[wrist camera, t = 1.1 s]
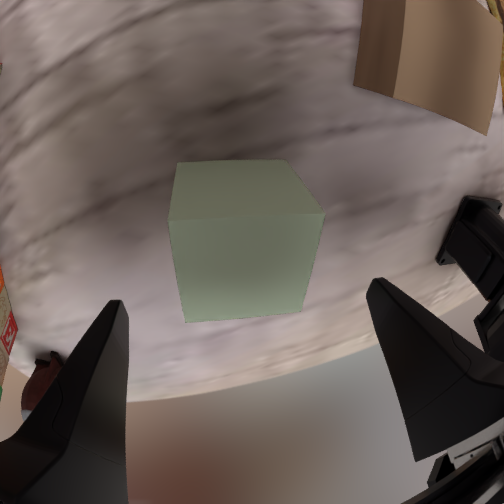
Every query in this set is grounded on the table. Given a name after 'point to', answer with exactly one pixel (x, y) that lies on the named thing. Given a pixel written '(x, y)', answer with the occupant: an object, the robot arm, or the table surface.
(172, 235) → the sage cube
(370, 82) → the walnut block
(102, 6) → the table surface
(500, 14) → the shard
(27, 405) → the mate gourd
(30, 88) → the table surface
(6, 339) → the stack of blocks
